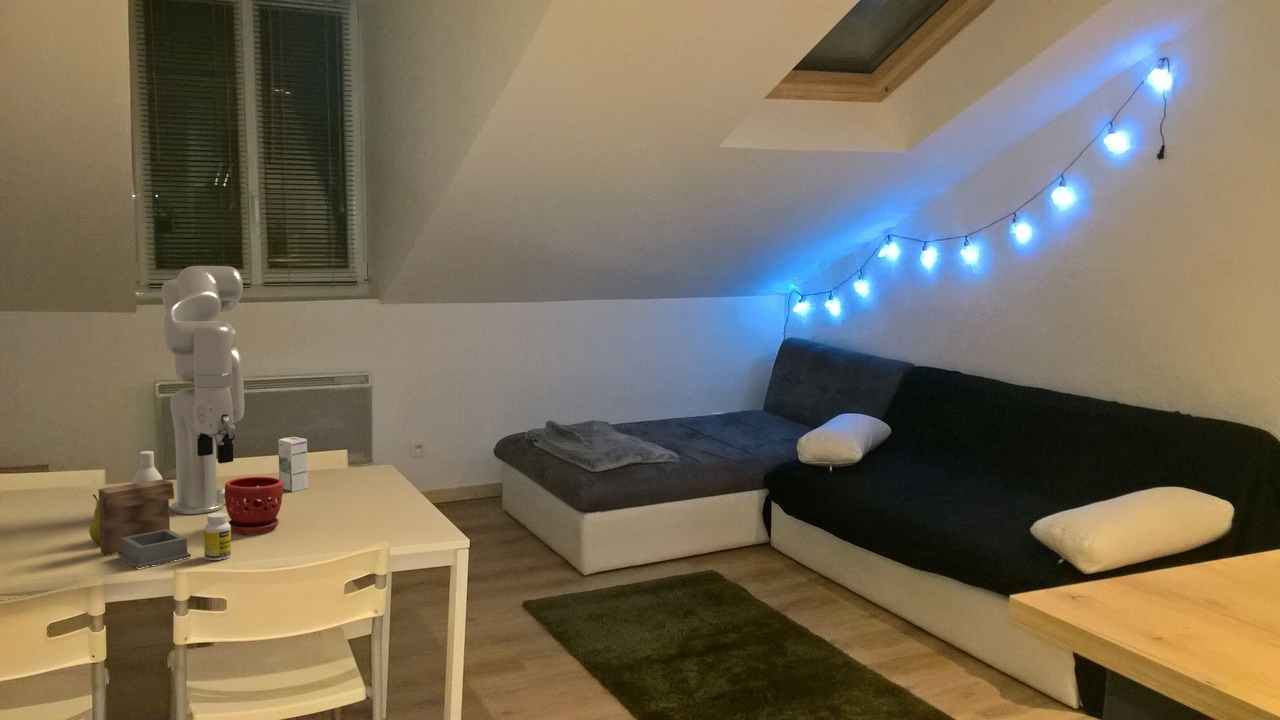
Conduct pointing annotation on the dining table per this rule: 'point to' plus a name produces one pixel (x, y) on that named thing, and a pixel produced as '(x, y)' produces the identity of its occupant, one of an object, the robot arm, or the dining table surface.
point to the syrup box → (293, 463)
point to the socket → (153, 548)
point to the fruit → (95, 524)
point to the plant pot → (253, 503)
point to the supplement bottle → (217, 537)
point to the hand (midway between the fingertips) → (215, 458)
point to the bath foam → (146, 469)
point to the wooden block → (133, 511)
